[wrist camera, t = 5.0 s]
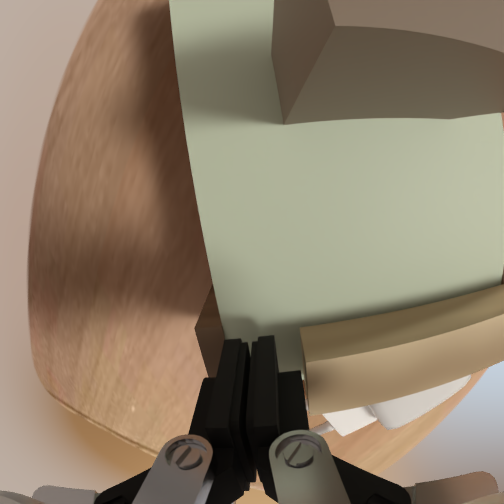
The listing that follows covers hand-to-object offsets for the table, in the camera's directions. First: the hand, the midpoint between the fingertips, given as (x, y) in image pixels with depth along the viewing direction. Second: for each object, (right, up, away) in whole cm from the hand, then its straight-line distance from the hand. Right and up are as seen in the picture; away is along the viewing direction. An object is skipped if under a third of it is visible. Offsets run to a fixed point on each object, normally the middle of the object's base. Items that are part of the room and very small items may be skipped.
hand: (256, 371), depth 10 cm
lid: (+4, +8, -1) cm, 9 cm away
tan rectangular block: (+7, +1, 0) cm, 7 cm away
